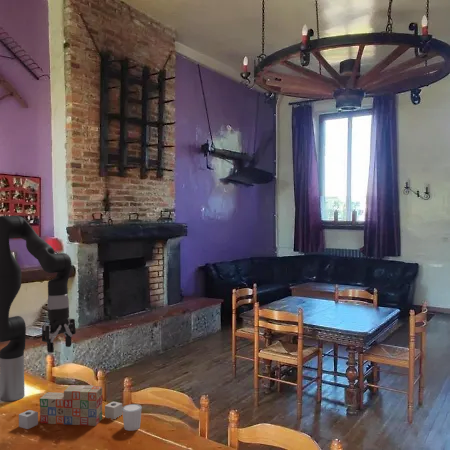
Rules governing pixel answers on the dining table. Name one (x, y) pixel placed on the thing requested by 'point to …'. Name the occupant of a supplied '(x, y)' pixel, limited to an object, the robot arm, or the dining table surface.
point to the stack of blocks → (72, 406)
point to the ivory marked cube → (113, 410)
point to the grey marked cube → (28, 419)
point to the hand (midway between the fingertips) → (59, 349)
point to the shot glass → (132, 416)
